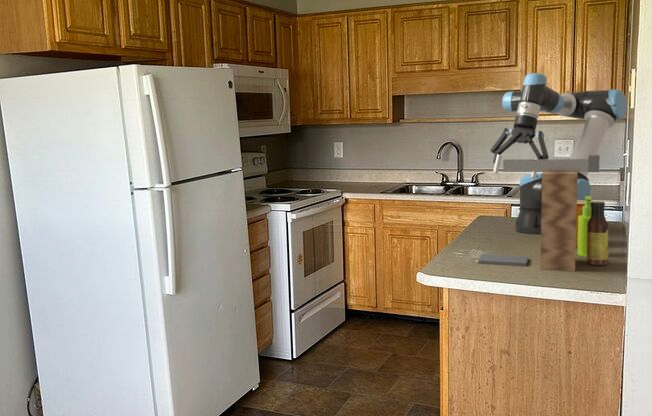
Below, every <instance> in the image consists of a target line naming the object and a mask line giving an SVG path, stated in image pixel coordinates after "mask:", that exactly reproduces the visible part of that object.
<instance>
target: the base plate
mask: <svg viewBox="0 0 652 416" xmlns="http://www.w3.org/2000/svg"><path fill="white" fill-rule="evenodd" d="M528 262H529V255H528V256H526V255H509V254H504V255H503V254H491V253H490V254H489V253H488V254H487V253H482V254H481V255H480V256H479V259H478V260H477V263H478V264H482V265H483V264H484V265H496V266H497V265H500V266H518V267H527V264H528Z"/></svg>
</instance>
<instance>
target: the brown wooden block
mask: <svg viewBox="0 0 652 416" xmlns="http://www.w3.org/2000/svg"><path fill="white" fill-rule="evenodd" d="M541 173H542V206H541V234H540V267H539V268H540V270H548V271H549V270H550V271H565V272H566V271H567V272H575V271H576V254H577V253H576V252H577V250H576V214H577V175H578V172H541Z"/></svg>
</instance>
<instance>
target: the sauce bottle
mask: <svg viewBox="0 0 652 416" xmlns="http://www.w3.org/2000/svg"><path fill="white" fill-rule="evenodd" d="M605 206H606V203H605V201H599V200H598V201H597V200H595V201H594V200H593V202H591V218H590V220H589V221H588V224H587V257H586V259H587V263H588V264H589V265H591V266H606V265H607V264H608V263H609V241H610V240H609V233H610V231H609V225H608V222H607V220H606V216H605Z"/></svg>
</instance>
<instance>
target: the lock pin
mask: <svg viewBox="0 0 652 416" xmlns="http://www.w3.org/2000/svg"><path fill="white" fill-rule="evenodd" d="M600 159H601V158H600V154H596V155H588V159H569V158H554V159H551V158H548V159H538V158H534V159H531V158H530V159H526V158H525V159H522V158H521V159H517V158H516V159H515V158H514V159H512V158H511V159H503V163H502V172H503V173H505V172H506V173H507V172H508V173H510V172H511V173H515V172H516V173H518V172H519V173H532V172H537V173H543V172H588V173H600Z"/></svg>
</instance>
